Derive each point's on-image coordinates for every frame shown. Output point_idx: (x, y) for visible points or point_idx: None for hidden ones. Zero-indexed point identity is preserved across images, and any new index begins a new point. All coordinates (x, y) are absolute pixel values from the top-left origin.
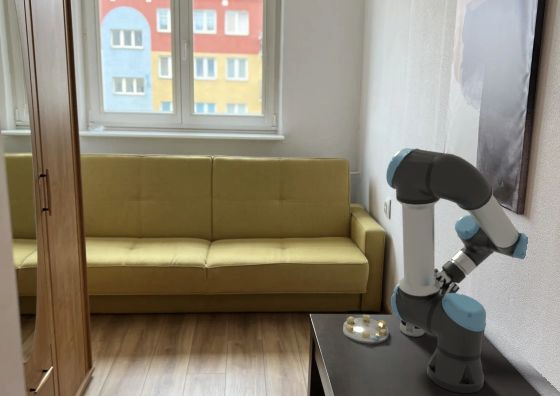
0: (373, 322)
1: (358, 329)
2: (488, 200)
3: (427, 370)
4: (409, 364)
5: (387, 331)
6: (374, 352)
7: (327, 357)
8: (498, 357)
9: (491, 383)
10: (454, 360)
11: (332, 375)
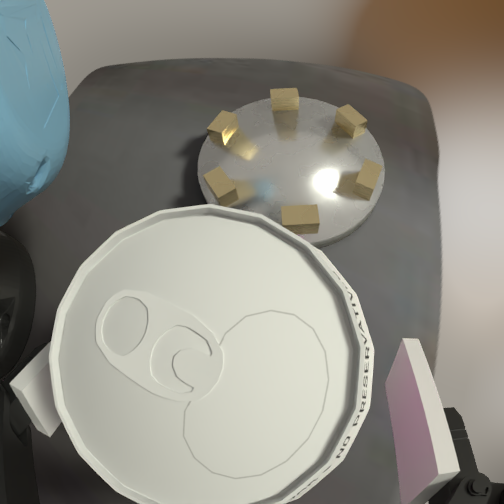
0: (338, 203)
1: (286, 129)
2: None
3: (17, 241)
4: (66, 220)
5: None
6: (158, 149)
7: (188, 60)
8: None
9: None
10: None
11: (129, 64)
